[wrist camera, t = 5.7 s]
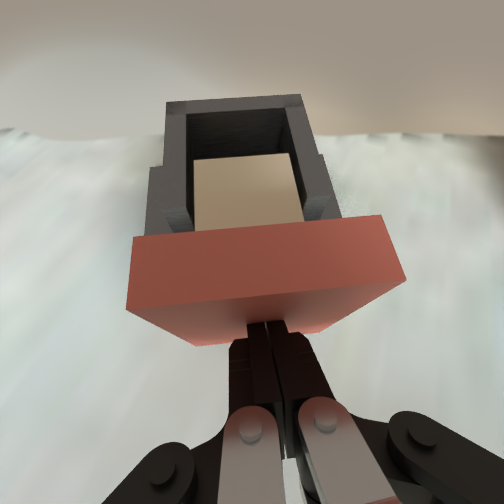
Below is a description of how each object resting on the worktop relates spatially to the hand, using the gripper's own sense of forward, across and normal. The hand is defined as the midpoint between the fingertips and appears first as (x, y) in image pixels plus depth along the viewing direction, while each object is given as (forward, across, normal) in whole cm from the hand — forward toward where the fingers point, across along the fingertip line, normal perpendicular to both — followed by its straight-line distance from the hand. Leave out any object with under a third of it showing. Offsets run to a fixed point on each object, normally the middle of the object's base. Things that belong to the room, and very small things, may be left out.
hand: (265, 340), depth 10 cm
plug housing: (+10, 0, -2) cm, 11 cm away
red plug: (+7, 0, -1) cm, 7 cm away
